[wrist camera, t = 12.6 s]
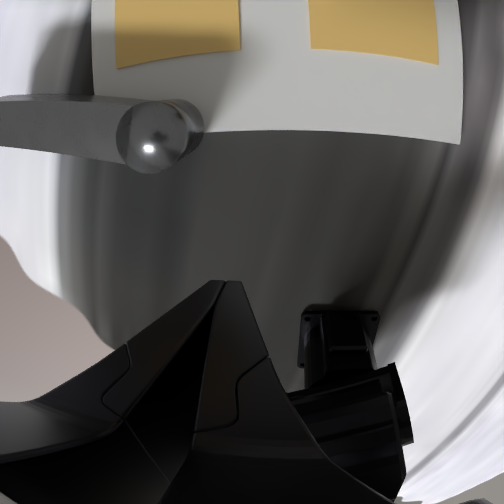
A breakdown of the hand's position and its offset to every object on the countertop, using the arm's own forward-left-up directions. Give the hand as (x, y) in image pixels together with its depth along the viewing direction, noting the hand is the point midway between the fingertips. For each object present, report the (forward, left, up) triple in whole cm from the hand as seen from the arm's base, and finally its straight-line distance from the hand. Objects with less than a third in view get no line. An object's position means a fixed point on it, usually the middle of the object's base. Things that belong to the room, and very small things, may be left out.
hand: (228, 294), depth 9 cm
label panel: (+10, -1, -13) cm, 16 cm away
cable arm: (+5, +11, -11) cm, 17 cm away
